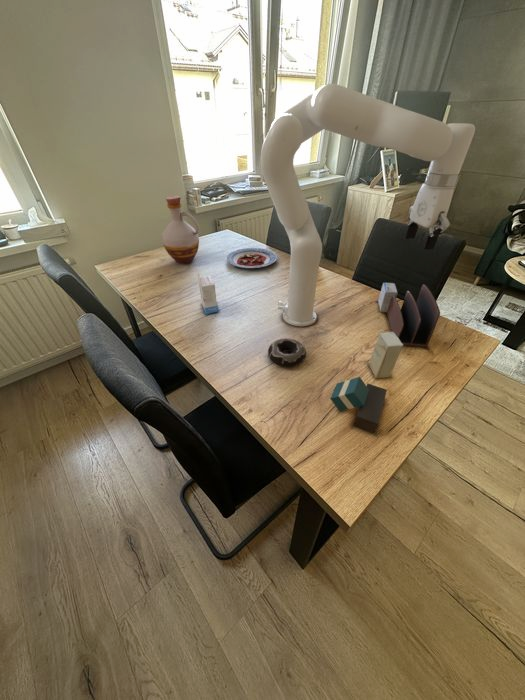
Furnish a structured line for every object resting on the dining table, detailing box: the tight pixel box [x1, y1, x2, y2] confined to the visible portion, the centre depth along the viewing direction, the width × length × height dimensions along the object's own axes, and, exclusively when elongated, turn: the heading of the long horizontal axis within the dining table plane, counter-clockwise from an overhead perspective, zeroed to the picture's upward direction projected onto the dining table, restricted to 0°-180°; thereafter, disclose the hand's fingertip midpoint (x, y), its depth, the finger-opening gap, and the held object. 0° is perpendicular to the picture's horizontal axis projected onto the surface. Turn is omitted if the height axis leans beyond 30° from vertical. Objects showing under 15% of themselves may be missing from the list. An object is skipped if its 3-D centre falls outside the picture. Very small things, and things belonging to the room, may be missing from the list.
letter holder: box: [386, 283, 441, 348], centre depth 97 cm, size 10×20×14 cm, turn 170°
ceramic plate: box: [226, 247, 278, 269], centre depth 148 cm, size 26×26×3 cm
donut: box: [267, 337, 307, 368], centre depth 89 cm, size 12×12×4 cm
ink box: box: [196, 270, 219, 315], centre depth 108 cm, size 8×5×15 cm, turn 20°
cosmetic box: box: [368, 331, 404, 379], centre depth 81 cm, size 6×4×12 cm
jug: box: [161, 195, 200, 264], centre depth 140 cm, size 20×18×30 cm
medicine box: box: [377, 282, 398, 313], centre depth 110 cm, size 8×4×9 cm, turn 168°
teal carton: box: [329, 376, 369, 412], centre depth 73 cm, size 8×6×8 cm
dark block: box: [352, 382, 388, 435], centre depth 72 cm, size 5×12×4 cm, turn 152°
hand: (418, 243), depth 89 cm, fingers open, 9 cm apart
